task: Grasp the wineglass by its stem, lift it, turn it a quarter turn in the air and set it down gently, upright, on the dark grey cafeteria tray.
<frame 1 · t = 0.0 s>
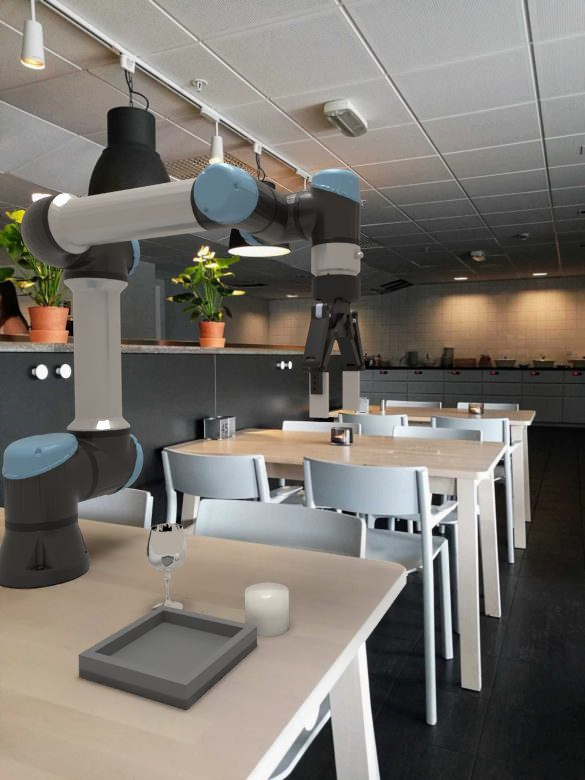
hand: (336, 414, 90), 28 cm above the table, fingers open, 13 cm apart
white pillar candle: (267, 626, 79), on the table
tray: (172, 660, 70), on the table
wineglass: (167, 609, 85), on the table
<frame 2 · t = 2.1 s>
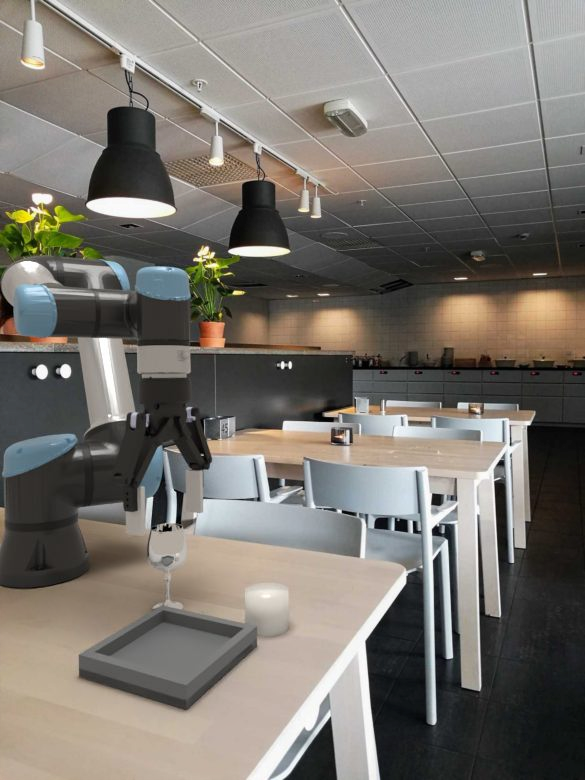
hand: (167, 522, 84), 13 cm above the table, fingers open, 13 cm apart
nothing on the table moved.
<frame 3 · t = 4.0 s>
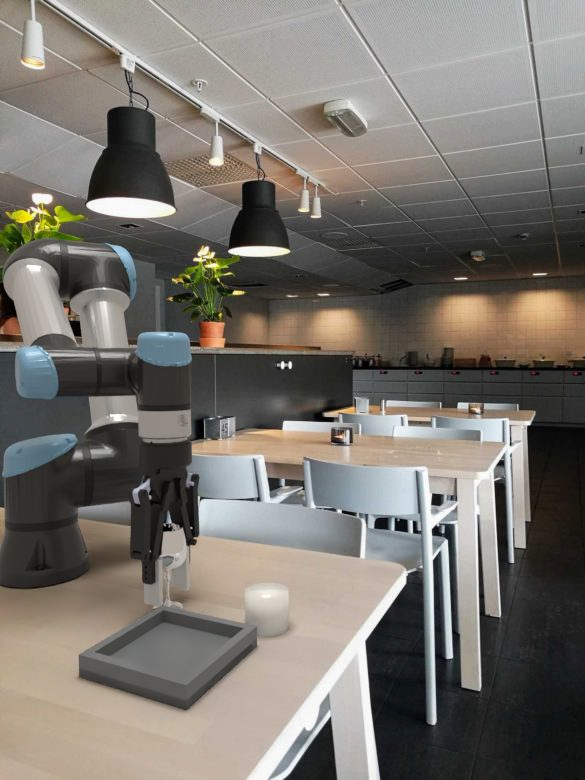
hand: (167, 595, 85), 2 cm above the table, fingers closed on wineglass, 6 cm apart
wineglass: (167, 609, 85), on the table, touching gripper
everything else where it was.
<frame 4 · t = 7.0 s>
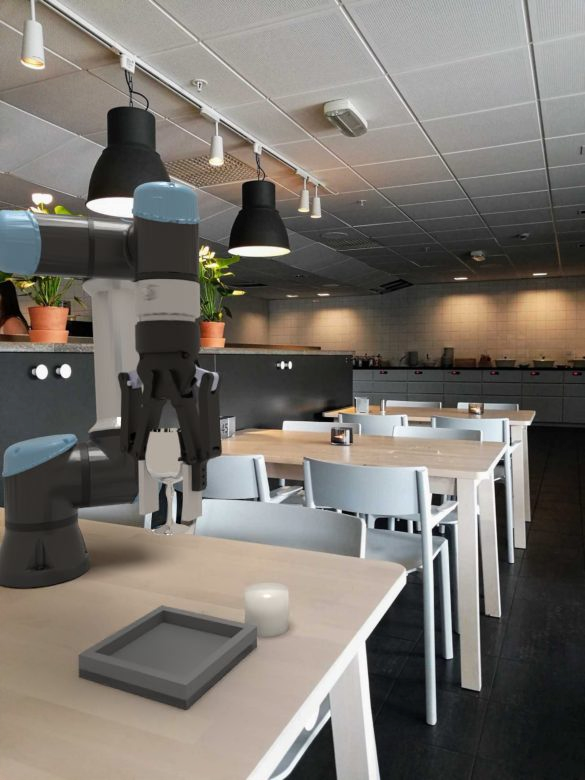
hand: (170, 514, 69), 18 cm above the table, fingers closed on wineglass, 6 cm apart
wineglass: (170, 531, 69), point 16 cm above the table, touching gripper
everything else where it was.
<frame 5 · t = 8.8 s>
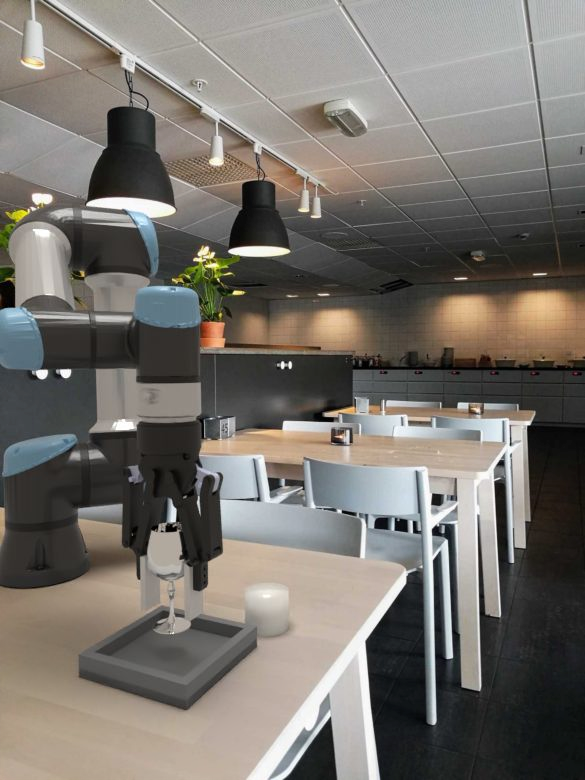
hand: (172, 610, 70), 6 cm above the table, fingers closed on wineglass, 6 cm apart
wineglass: (172, 627, 70), point 4 cm above the table, touching gripper
everything else where it was.
when the fingers open (4 cm above the table, at t = 10.1 s): wineglass stays where it is, resting on tray.
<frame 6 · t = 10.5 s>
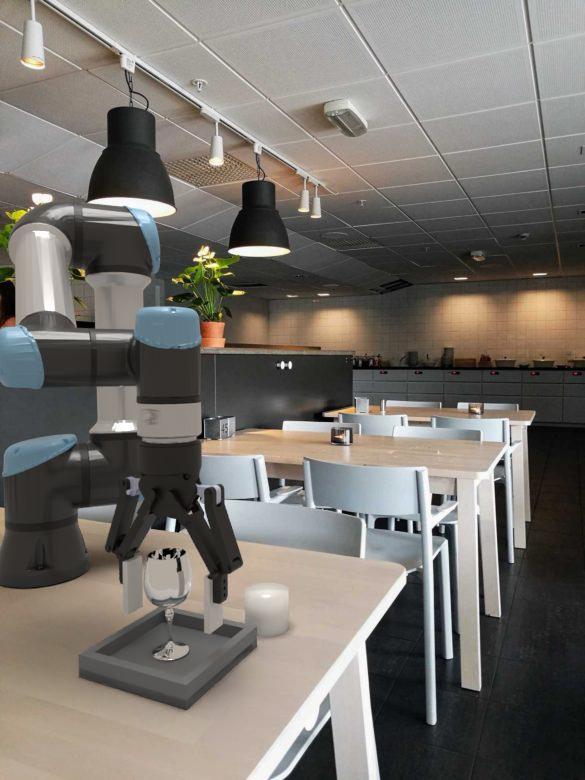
hand: (171, 619, 70), 5 cm above the table, fingers open, 11 cm apart
wineglass: (170, 653, 70), point 1 cm above the table, touching tray
everything else where it was.
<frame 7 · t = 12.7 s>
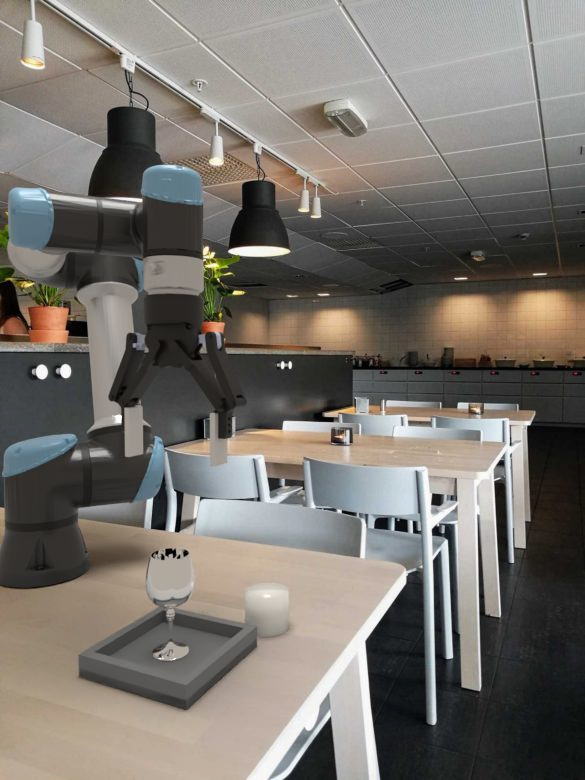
hand: (174, 460, 75), 23 cm above the table, fingers open, 13 cm apart
nothing on the table moved.
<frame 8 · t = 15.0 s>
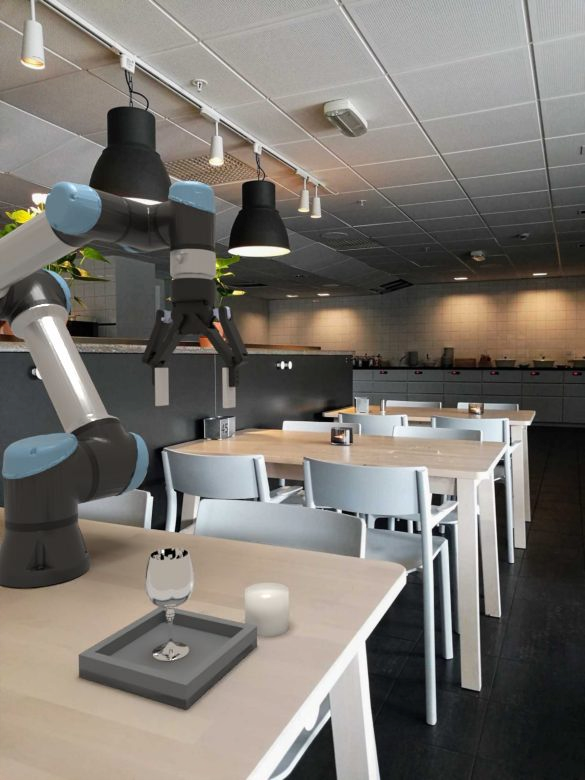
hand: (194, 406, 97), 29 cm above the table, fingers open, 13 cm apart
nothing on the table moved.
at the end: wineglass inside the target area on the tray (0.3 cm from its centre), point 0.8 cm above the tray's base; wineglass tilted 0°; the gripper is holding nothing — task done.
